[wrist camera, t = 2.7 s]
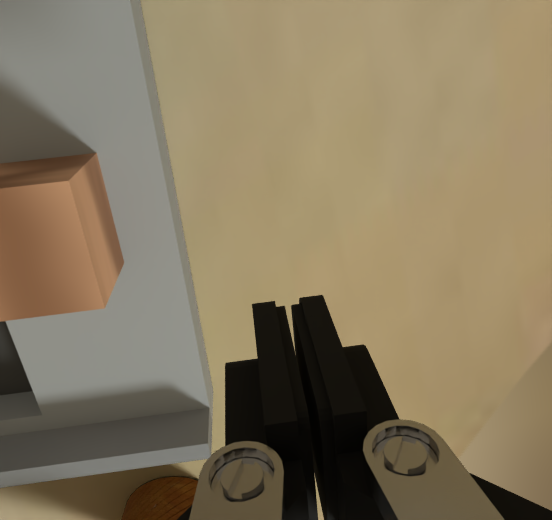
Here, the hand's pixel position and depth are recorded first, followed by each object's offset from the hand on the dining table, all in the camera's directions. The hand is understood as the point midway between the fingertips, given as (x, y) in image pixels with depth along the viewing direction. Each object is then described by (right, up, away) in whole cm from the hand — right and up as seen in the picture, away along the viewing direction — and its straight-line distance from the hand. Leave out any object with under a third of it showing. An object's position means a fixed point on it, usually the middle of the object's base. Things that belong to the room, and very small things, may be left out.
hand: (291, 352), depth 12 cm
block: (-10, +4, +9) cm, 14 cm away
